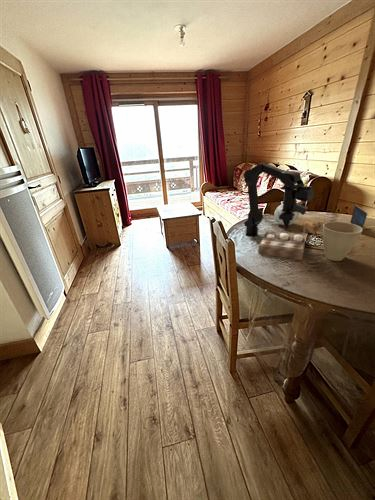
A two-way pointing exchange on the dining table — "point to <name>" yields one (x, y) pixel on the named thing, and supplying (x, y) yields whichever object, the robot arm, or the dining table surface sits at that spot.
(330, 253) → the plant pot
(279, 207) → the puzzle ball
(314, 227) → the lion figurine
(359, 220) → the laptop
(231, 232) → the dining table surface
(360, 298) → the dining table surface
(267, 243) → the button board
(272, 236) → the button left
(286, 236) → the button middle
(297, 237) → the button right
